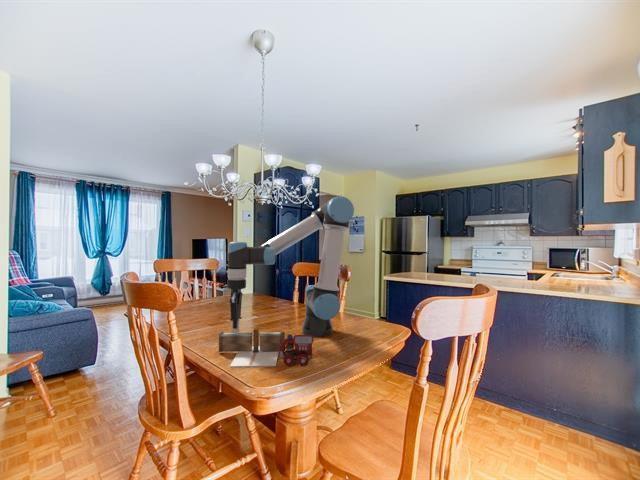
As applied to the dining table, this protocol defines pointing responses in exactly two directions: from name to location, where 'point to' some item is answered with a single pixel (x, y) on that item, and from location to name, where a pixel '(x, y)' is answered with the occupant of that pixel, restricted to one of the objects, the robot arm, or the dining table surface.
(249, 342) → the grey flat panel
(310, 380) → the dining table surface
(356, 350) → the dining table surface
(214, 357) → the dining table surface
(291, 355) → the toy fire truck
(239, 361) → the card
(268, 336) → the fence fixed section
